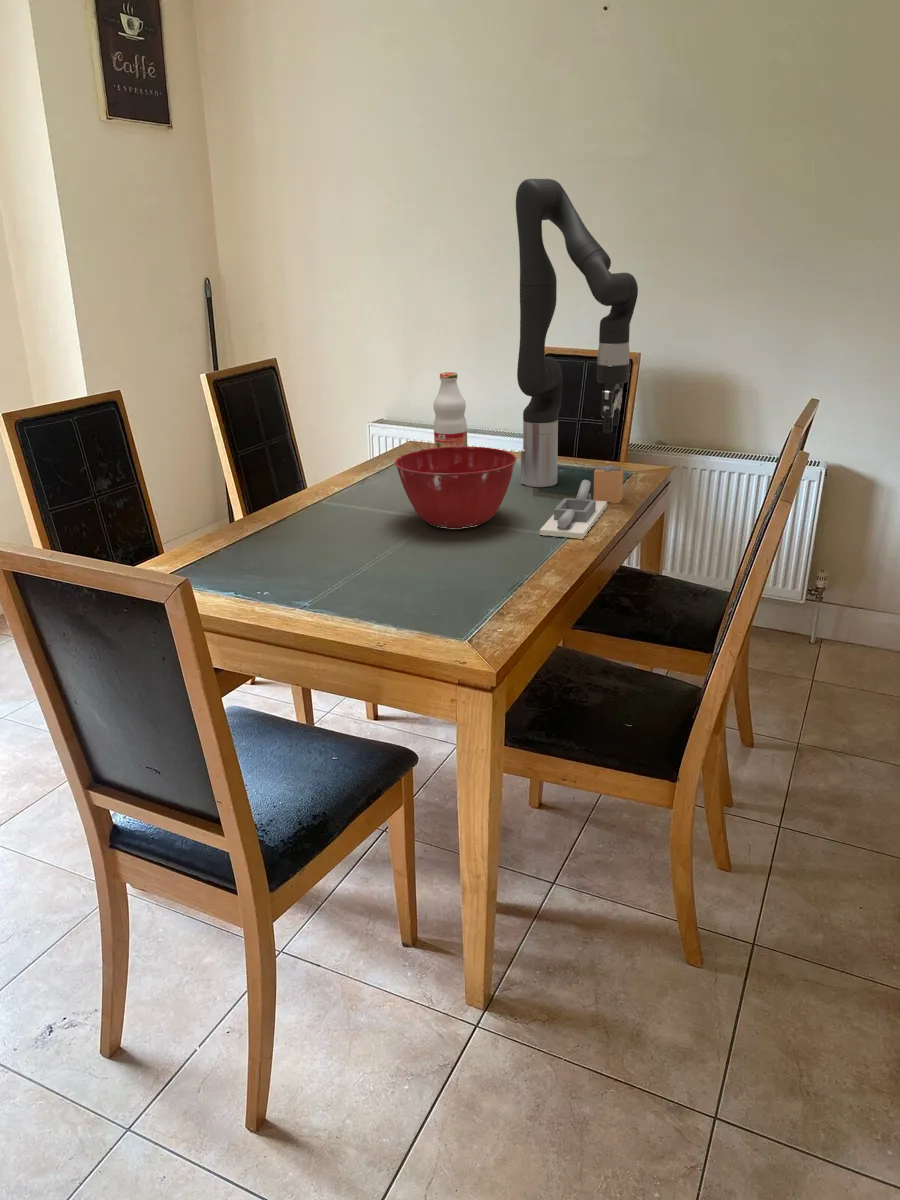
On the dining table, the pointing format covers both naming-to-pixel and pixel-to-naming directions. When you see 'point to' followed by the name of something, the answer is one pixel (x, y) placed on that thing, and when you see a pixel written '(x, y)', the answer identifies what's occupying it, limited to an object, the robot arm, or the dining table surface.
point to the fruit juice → (449, 413)
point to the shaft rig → (575, 514)
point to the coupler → (608, 484)
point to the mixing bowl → (456, 483)
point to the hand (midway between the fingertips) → (610, 429)
